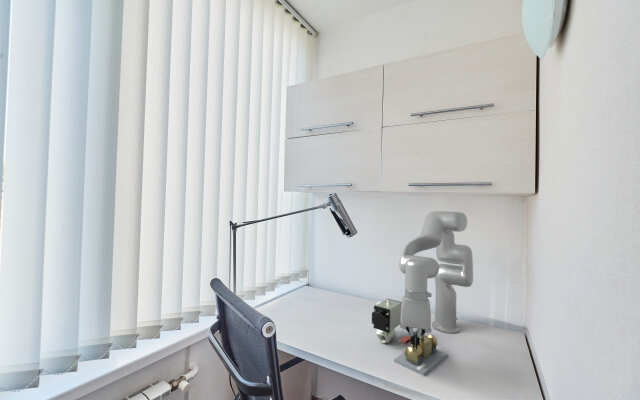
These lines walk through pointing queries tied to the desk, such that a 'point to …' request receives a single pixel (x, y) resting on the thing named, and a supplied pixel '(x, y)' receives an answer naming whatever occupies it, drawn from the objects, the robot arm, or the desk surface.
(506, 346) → the desk surface
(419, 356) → the valve pipe
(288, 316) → the desk surface
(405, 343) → the lever
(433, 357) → the base board
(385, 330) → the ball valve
